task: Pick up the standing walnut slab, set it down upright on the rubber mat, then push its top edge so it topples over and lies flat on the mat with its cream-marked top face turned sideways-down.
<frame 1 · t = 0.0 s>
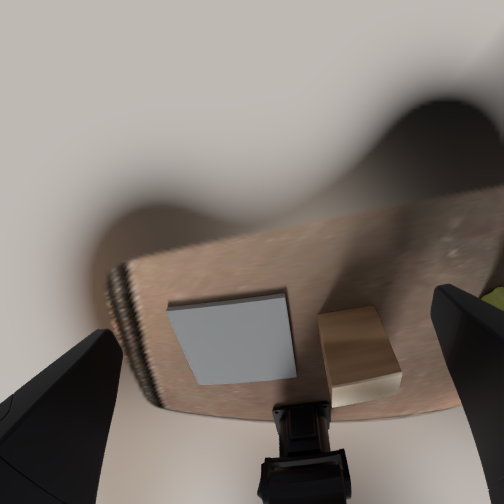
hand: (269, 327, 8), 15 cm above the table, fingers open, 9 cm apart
slab: (346, 320, 26), on the table
mat: (236, 344, 28), on the table
plant pot: (489, 308, 26), on the table
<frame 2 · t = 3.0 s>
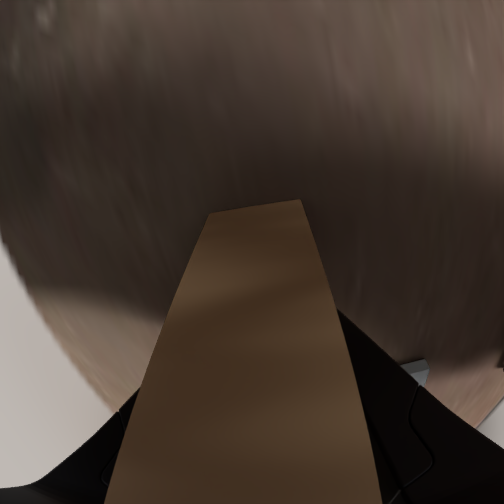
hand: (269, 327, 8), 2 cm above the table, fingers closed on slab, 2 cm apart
slab: (268, 283, 10), on the table, touching gripper
mat: (315, 436, 14), on the table
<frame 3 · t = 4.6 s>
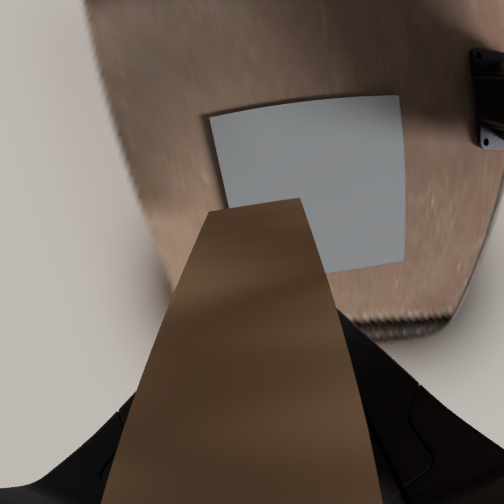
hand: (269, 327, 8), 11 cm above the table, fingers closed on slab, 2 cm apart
slab: (268, 281, 10), point 9 cm above the table, touching gripper
mat: (319, 190, 17), on the table
when the fingers open (3 cm above the table, at t = 6.5 s): slab stays where it is, resting on mat.
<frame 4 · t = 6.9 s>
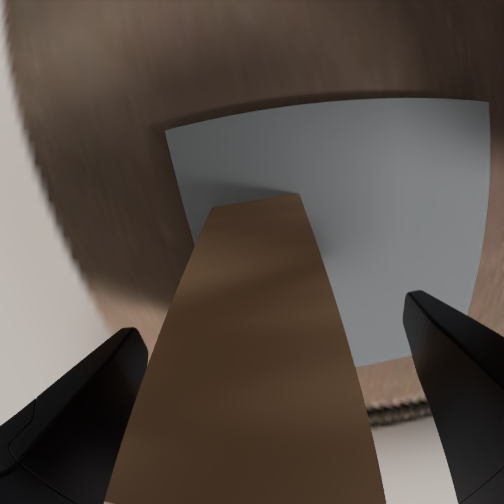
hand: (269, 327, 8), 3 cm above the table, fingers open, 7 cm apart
slab: (268, 275, 10), point 1 cm above the table, touching mat
mat: (355, 254, 10), on the table
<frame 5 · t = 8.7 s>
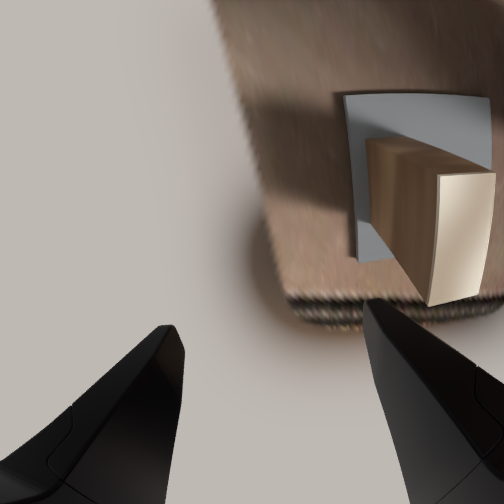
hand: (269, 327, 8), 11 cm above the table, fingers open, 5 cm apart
slab: (388, 180, 16), point 1 cm above the table, touching mat
mat: (427, 174, 16), on the table
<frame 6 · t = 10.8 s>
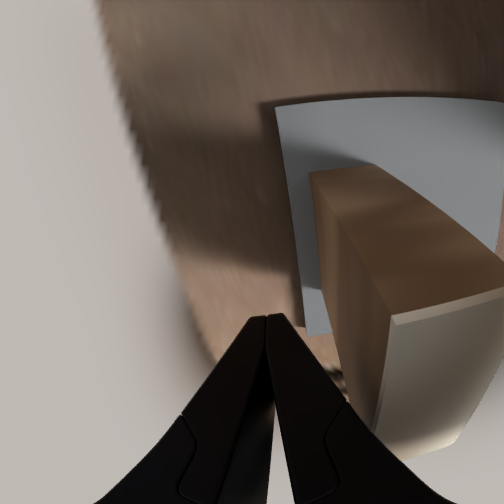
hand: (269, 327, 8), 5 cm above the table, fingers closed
slab: (348, 231, 12), point 1 cm above the table, touching gripper, mat
mat: (409, 217, 12), on the table
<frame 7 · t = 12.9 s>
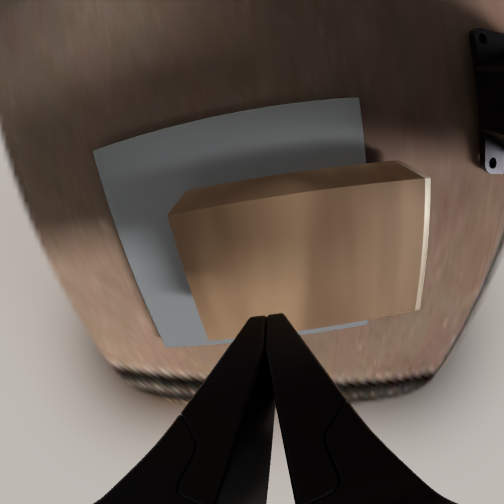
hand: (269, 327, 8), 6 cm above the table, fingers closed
slab: (196, 266, 11), point 2 cm above the table, tilted 90°, touching mat
mat: (243, 239, 13), on the table
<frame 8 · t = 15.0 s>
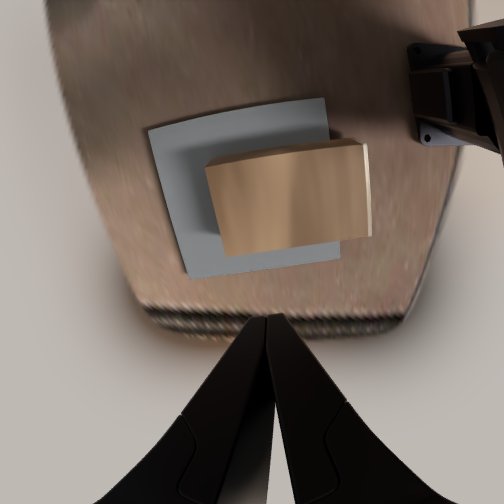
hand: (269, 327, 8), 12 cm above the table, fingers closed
slab: (218, 206, 17), point 2 cm above the table, tilted 90°, touching mat
mat: (249, 192, 18), on the table
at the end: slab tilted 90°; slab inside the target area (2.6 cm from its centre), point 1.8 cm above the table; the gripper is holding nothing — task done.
